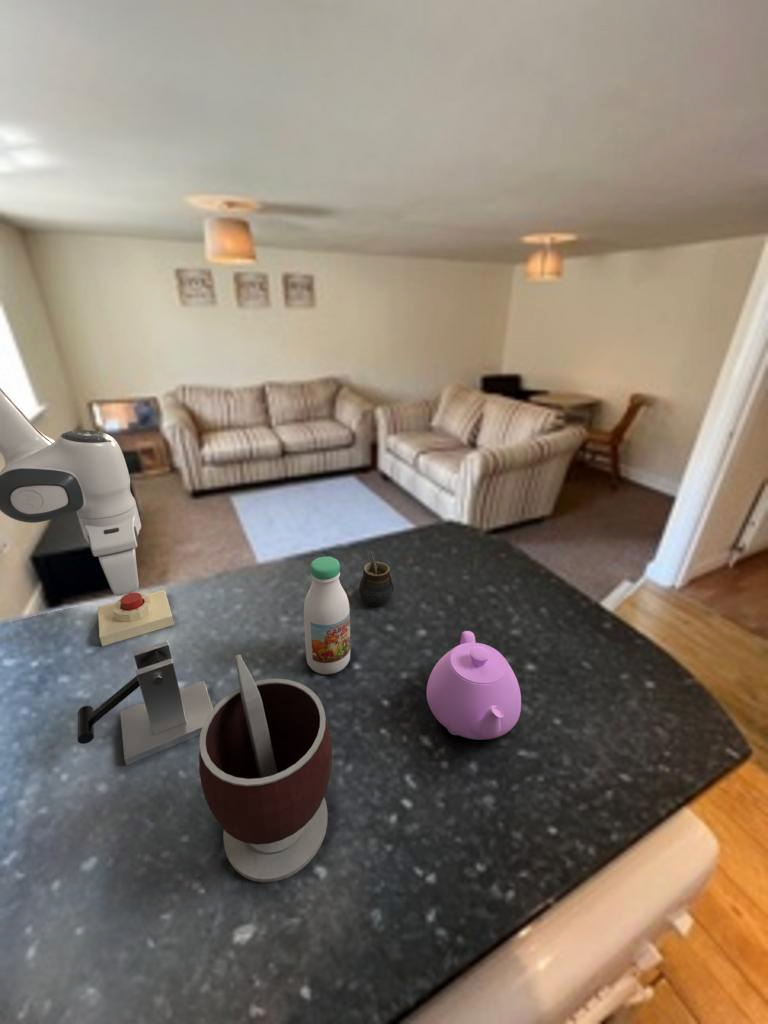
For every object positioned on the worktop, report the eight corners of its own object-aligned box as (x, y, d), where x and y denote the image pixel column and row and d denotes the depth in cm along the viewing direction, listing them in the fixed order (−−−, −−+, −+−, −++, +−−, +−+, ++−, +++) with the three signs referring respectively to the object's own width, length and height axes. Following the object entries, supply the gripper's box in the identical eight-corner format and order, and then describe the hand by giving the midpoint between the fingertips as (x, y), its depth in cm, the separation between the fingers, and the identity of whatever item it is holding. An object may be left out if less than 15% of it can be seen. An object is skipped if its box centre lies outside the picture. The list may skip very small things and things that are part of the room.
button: (122, 613, 83) (120, 605, 83) (121, 603, 86) (119, 595, 85) (144, 607, 85) (142, 600, 84) (142, 597, 88) (140, 590, 87)
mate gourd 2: (368, 614, 91) (369, 573, 86) (352, 595, 96) (351, 555, 92) (399, 604, 94) (401, 563, 90) (381, 585, 100) (382, 547, 96)
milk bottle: (298, 667, 77) (290, 569, 69) (320, 639, 84) (315, 546, 75) (337, 681, 75) (335, 581, 66) (357, 651, 81) (357, 556, 73)
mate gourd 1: (354, 842, 53) (354, 724, 44) (236, 922, 46) (208, 799, 37) (301, 742, 64) (293, 633, 56) (201, 793, 57) (173, 677, 49)
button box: (102, 646, 81) (96, 629, 79) (100, 615, 88) (95, 599, 86) (174, 625, 86) (170, 608, 85) (166, 597, 94) (162, 581, 92)
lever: (87, 746, 59) (72, 740, 57) (87, 718, 62) (72, 711, 61) (172, 675, 61) (160, 667, 60) (167, 652, 65) (155, 644, 63)
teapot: (539, 779, 60) (556, 715, 55) (434, 780, 60) (442, 716, 54) (499, 668, 78) (510, 612, 73) (419, 668, 78) (424, 612, 72)
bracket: (126, 765, 60) (103, 697, 55) (121, 717, 67) (101, 652, 62) (218, 727, 66) (205, 661, 61) (205, 686, 73) (192, 623, 68)
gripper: (89, 504, 84) (107, 566, 90) (91, 553, 69) (112, 624, 75) (127, 498, 87) (142, 558, 93) (136, 543, 72) (154, 612, 78)
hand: (129, 588), depth 84 cm, fingers closed
